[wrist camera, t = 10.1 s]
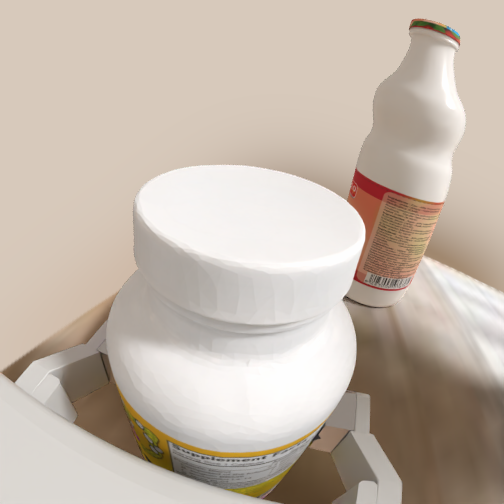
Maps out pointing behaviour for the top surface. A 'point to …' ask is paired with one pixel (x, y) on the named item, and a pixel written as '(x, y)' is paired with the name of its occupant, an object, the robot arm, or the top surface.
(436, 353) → the top surface
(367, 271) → the fruit juice
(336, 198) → the supplement bottle
